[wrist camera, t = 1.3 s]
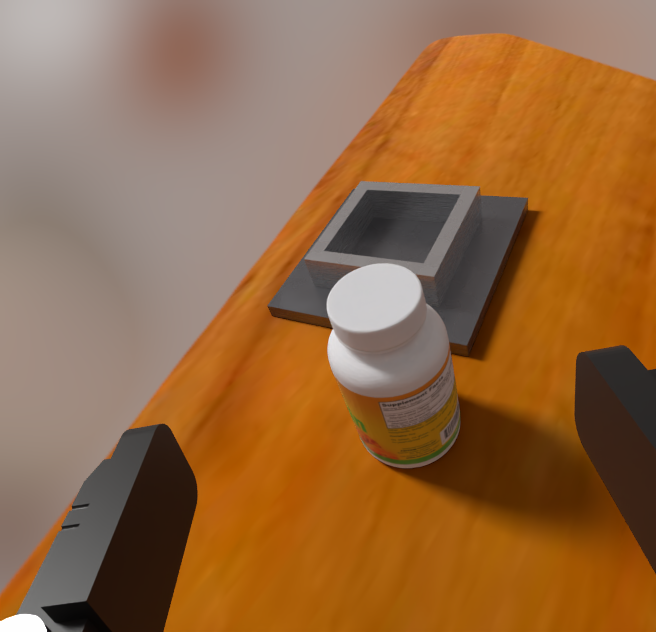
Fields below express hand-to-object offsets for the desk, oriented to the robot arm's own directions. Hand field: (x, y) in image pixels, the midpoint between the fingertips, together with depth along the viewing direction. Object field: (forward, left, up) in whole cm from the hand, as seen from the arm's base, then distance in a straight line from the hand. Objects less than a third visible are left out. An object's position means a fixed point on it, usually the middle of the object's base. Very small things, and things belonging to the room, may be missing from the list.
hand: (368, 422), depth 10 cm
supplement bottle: (-1, -10, -15) cm, 18 cm away
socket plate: (-4, -23, -15) cm, 27 cm away
